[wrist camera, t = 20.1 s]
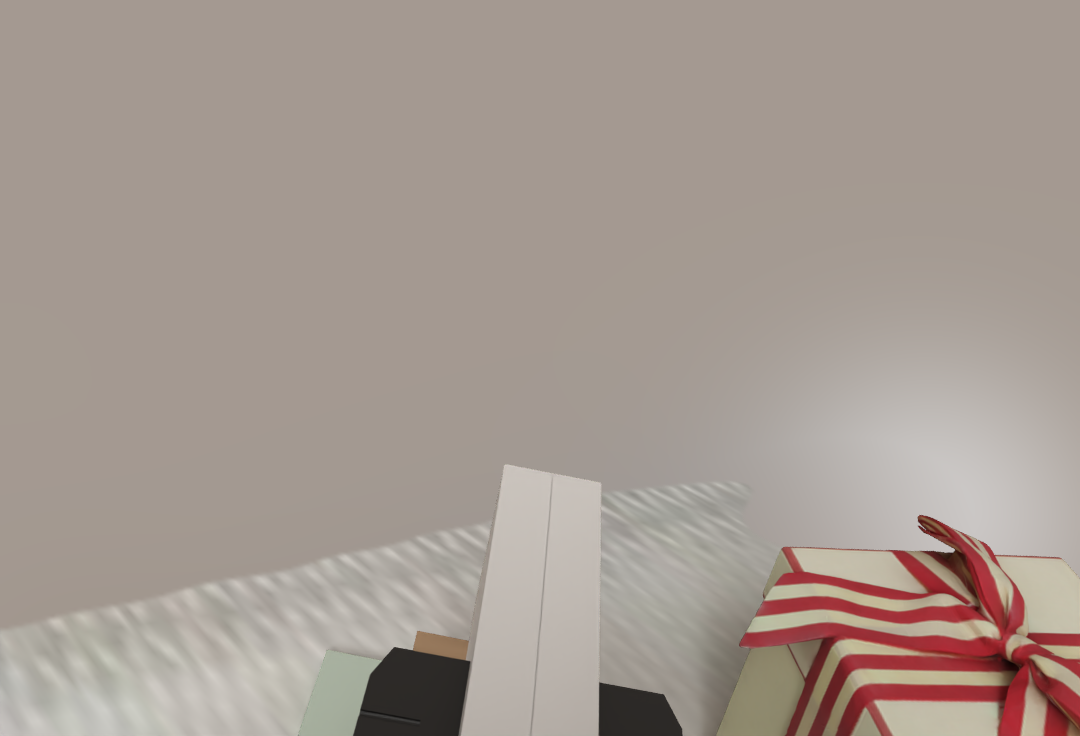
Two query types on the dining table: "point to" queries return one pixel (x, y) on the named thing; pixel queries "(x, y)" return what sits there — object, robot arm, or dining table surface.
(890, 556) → the gift box
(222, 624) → the dining table surface
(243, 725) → the dining table surface
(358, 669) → the mat
